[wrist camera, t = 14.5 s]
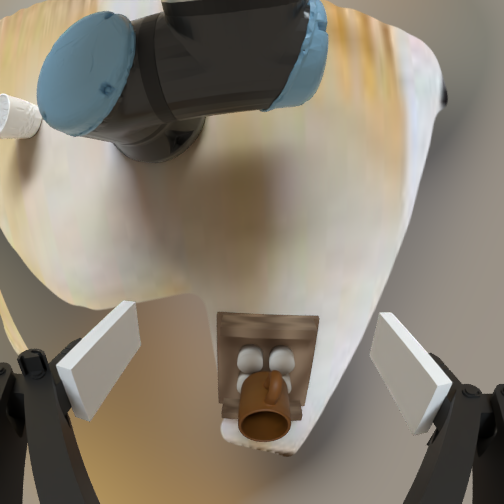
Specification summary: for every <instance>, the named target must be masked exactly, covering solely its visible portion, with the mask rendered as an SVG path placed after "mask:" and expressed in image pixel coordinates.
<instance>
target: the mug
mask: <svg viewBox="0 0 504 504" xmlns="http://www.w3.org/2000/svg"><path fill="white" fill-rule="evenodd" d="M290 427H291V412H290V403H289V395H288V388H287V384H286V382H285V380H284V379H283V378H282V374H281V373H280V372H279V371H277V370H273V371H271V372H268V371H261V372H256V373H254V374H251V375H250V376H248V377H247V378H246V379H245V380H244V382H243V384H242V386H241V393H240V402H239V412H238V428H239V430H240V432H241V433H242V434H243V435H244V436H245V437H247V438H248V439H251V440H254V441H259V442H269V441H274V440H277V439H280V438H282V437H283V436H285V435H286V434H287V433H288V431H289V430H290Z"/></svg>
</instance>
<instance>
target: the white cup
mask: <svg viewBox="0 0 504 504" xmlns="http://www.w3.org/2000/svg"><path fill="white" fill-rule="evenodd" d="M41 120H42V116H41V114H40V111H39V108H38V106H37V105H35V104H32V103H30V102H28V101H25V100H22V99H19V98H16V97H13V96H10V95H7V94H0V139H20V138H31V137H32V136H33V135H34V134H36V132H37V130H38V129H39V127H40V124H41Z"/></svg>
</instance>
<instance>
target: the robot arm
mask: <svg viewBox="0 0 504 504" xmlns="http://www.w3.org/2000/svg"><path fill="white" fill-rule="evenodd" d="M161 2H162V6H163V10H164V12H161V13H157V14H153V15H150V16H146V17H143V18H139V19H136V20H133V21H130V20H129V19H128V18H127V17H126V16H124V15H121V14H114V13H113V12H109V11H103V12H97V13H93V14H90V15H88V16H86V17H84V18H82V19H80V20H79V21H77V22H76V23H74V24H73V25H72V26H71V27H69V28H68V29H67V30H66V31H65V32H64V33H63V34H62V35H61V36H60V37H59V39H58V40H57V41H56V42H55V44H54V45H53V47H52V49H51V51H50V53H49V54H48V55H47V57H46V59H45V61H44V63H43V66H42V68H41V71H40V75H39V79H38V84H37V104H38V108H39V111H40V114H41V116H42V118H43V119H44V120H45V121H46V123H48V125H49V126H50V127H52V128H54V129H56V130H58V131H61V132H64V133H66V134H67V135H70V136H74V137H76V136H81V137H87V138H92V139H97V140H102V141H107V142H112V143H114V145H115V146H116V147H117V149H118V150H119V151H120V152H121V153H123V154H124V155H126V156H127V157H129V158H131V159H134V160H137V161H142V162H148V163H157V162H163V161H167V160H169V159H172V158H174V157H176V156H178V155H179V154H181V153H182V152H184V151H185V150H186V149H187V148H188V147H189V146H190V145H191V144H192V143H193V142H194V141H195V140H196V138H197V137H198V135H199V133H200V131H201V129H202V127H203V124H204V120H205V116H212V115H219V114H226V113H234V112H242V111H252V110H260V111H262V112H267V111H270V110H272V109H275V108H284V107H295V106H299V105H302V104H304V103H305V102H306V101H308V100H310V99H311V98H312V97H313V95H314V94H315V93H316V91H317V89H318V87H319V85H320V82H321V80H322V77H323V73H324V69H325V65H326V59H327V52H328V34H327V33H326V27H327V16H326V12H325V9H324V6H323V4H322V2H321V1H320V0H161ZM140 346H141V342H140V334H139V327H138V319H137V310H136V302H133V301H125V300H123V301H122V302H121V303H120V304H119V305H118V306H117V307H116V308H114V309H113V310H112V311H111V312H110V313H109V314H108V315H107V316H106V317H105V318H104V319H103V320H102V321H101V322H100V323H99V324H98V325H96V326H95V327H94V328H93V329H92V330H91V331H90V332H89V333H88V334H87V335H86V336H85V337H84V338H83V339H82V338H79V339H77V340H75V341H72V342H71V343H70V344H69V345H68V346H67V347H65V349H63V350H62V351H61V353H59V354H58V355H57V356H56V357H55V358H54V359H53V360H52V361H51V362H50V363H49V364H48V361H47V358H46V355H45V353H44V351H42V350H39V349H29V350H26V351H24V352H22V353H21V354H20V355H19V356H18V359H17V360H18V363H19V366H20V369H21V371H22V374H15V373H13V371H12V368H11V366H10V365H9V364H8V363H0V504H22V496H23V478H24V467H25V458H26V450H27V443H28V446H29V454H30V460H31V465H32V471H33V476H34V481H35V485H36V489H37V493H38V497H39V501H40V504H100V502H99V500H98V498H97V496H96V493H95V491H94V489H93V486H92V484H91V481H90V479H89V477H88V474H87V471H86V468H85V466H84V463H83V460H82V457H81V454H80V451H79V448H78V445H77V442H76V438H75V435H74V432H73V428H72V425H71V421H70V418H69V416H68V413H67V412H68V411H69V410H70V408H71V407H72V410H73V412H74V414H75V417H78V418H81V419H84V420H86V421H91V420H92V418H93V416H94V415H95V413H96V412H97V410H98V409H99V407H100V406H101V404H102V402H103V401H104V400H105V398H106V396H107V395H108V393H109V392H110V390H111V389H112V387H113V386H114V384H115V383H116V381H117V380H118V378H119V377H120V375H121V374H122V372H123V371H124V370H125V368H126V367H127V365H128V364H129V362H130V360H131V359H132V358H133V356H134V355H135V353H136V352H137V350H138V349H139V348H140ZM369 356H370V358H371V359H372V361H373V363H374V365H375V366H376V368H377V370H378V371H379V373H380V375H381V377H382V379H383V381H384V382H385V384H386V386H387V388H388V390H389V391H390V393H391V395H392V397H393V399H394V401H395V403H396V404H397V406H398V408H399V410H400V412H401V414H402V416H403V418H404V419H405V422H406V423H407V425H408V427H409V429H410V431H411V433H412V435H413V436H414V435H418V434H422V433H426V432H428V430H429V429H430V427H431V425H432V423H434V425H435V426H436V430H435V431H434V433H433V435H432V436H431V438H430V440H429V442H428V443H427V445H428V446H429V447H428V449H427V452H426V454H425V457H424V459H423V462H422V464H421V466H420V469H419V471H418V473H417V475H416V478H415V480H414V482H413V484H412V486H411V488H410V491H409V492H408V494H407V496H406V498H405V500H404V502H403V504H462V501H463V498H464V495H465V492H466V488H467V485H468V481H469V477H470V473H471V469H472V471H473V500H472V501H473V502H472V503H473V504H504V384H499V385H497V386H496V388H495V390H494V392H493V394H482V392H481V391H480V389H478V388H477V387H475V386H473V385H471V384H461V382H460V381H459V380H458V379H457V378H456V377H455V375H454V374H453V373H452V372H451V371H450V370H449V369H448V367H447V366H446V365H444V363H443V362H442V361H441V359H440V358H439V357H437V356H435V355H434V354H432V353H427V352H426V351H425V350H424V348H423V347H422V346H421V345H420V344H419V343H418V342H417V340H416V339H415V338H414V337H413V336H412V335H411V334H410V332H409V331H408V330H407V329H406V328H405V327H404V326H403V325H402V324H401V322H400V321H399V320H398V319H397V318H396V317H395V316H394V315H393V314H392V313H391V312H388V313H379V316H378V321H377V325H376V330H375V334H374V339H373V342H372V346H371V350H370V355H369Z"/></svg>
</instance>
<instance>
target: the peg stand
mask: <svg viewBox="0 0 504 504" xmlns="http://www.w3.org/2000/svg"><path fill="white" fill-rule="evenodd" d="M318 324H319V316H299V315H267V314H245V313H227V312H218V313H217V356H218V391H219V393H218V394H219V403H223V407H222V418H229V419H238V412H239V402H240V393H241V386H242V384H243V382H244V380H245V379H246V378H247V377H248V376H250V375H251V374H254V373H256V372H261V371H268V372H271V371H273V370H277V371H279V372H280V373H281V374H282V378H283V379H284V380H285V382H286V384H287V388H288V395H289V403H290V412H291V421H297V420H301V419H302V410H301V406H304V405H305V400H306V395H307V390H308V384H309V379H310V373H311V368H312V362H313V356H314V350H315V344H316V338H317V331H318Z"/></svg>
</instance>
